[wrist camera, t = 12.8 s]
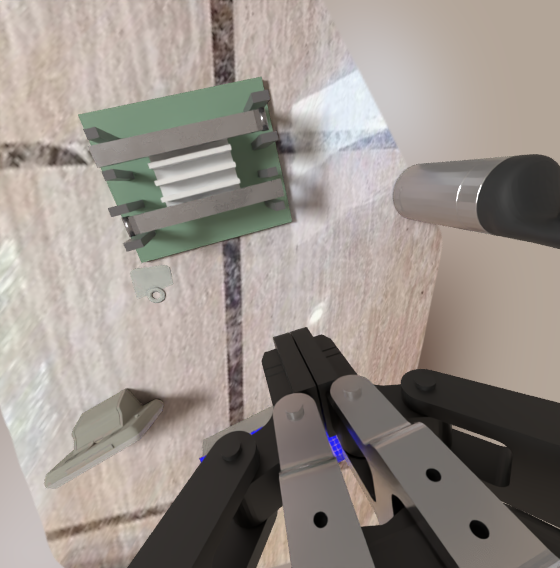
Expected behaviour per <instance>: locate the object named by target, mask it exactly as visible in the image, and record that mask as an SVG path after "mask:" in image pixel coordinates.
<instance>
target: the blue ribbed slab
mask: <svg viewBox="0 0 560 568" xmlns="http://www.w3.org/2000/svg"><path fill="white" fill-rule="evenodd" d="M272 413H273V406H271V407H269V408H267V409H265V410H263V411H261V412H259V413H257V414H255V415H253V416H251V417H249V418H247V419H245V420H243V421H241V422H239V423H237V424H235V425H233V426H231V427H229V428H227V429H225V430H223V431H221V432H219V433H217V434H215V435H213V436H211V437H209V438H206V439H204V440H203V456H202V457H201V458H199V459H200V462H202V461H203V459H204V458H205V456H206V455H207V453H208V452H209V451H210V449H211V448H212V446H213V445H214V444H215V442H216V441H217V440H218V439H220V438H221V437H222V436H224V435H225V434H227V433H230V432H233V431H245V432H248V433H250V434H251V435H252V434H254V433H255V432H257V431H258V430H260V429H261V428H262V427H263V426H265V425H266V424H267V422H268V421H269V420H270V418H271V416H272ZM326 434H327V432H326ZM327 438H328V441H329V444H330V447H331V450H332V453H333V455H334V456H335V457H336V459H337V461H338V463H339V462H341V461H343V460H344V459H345V458H344V456H343V453H342V449H341V444H340V442H339V440H338V438H337V436H336V435H335V436H333V437H330V438H329V436H328V434H327Z"/></svg>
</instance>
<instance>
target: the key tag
mask: <svg viewBox="0 0 560 568" xmlns="http://www.w3.org/2000/svg"><path fill="white" fill-rule="evenodd" d="M130 275H131V279H132V283H133V286H134V290H135V293H136V297H137V299H139V298H141V297H144V296H146V295H147V297H148V299H149V300H150V301H151V302H154V303H159V302H162V301H163V300H164V298H165V292H164V290H163V288H165V287H168V286H170V285H172V284H173V281H172V276H171V271H170V268H169V267H168V266H166V265H161V266H153V267H145V268H137V269H133V270H132V271H131V272H130ZM156 291H157V292H159V293H160V294H161V297H160V298H159V299H154V298H153V297H152V293H153V292H156Z"/></svg>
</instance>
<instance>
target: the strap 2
mask: <svg viewBox="0 0 560 568" xmlns="http://www.w3.org/2000/svg"><path fill="white" fill-rule="evenodd" d="M282 196H284V191H283V187H282V182H281V178H279V179H275V180H271V181H267V182H263V183H259V184H256V185H252V186H248V187H244V188H240V189H236V190H232V191H228V192H224V193H220V194H216V195H212V196H208V197H204V198H200V199H196V200H193V201H189V202H185V203H181V204H177V205H173V206H169V207H165V208H161V209H157V210H153V211H149V212H145V213H141V214H137V215H134V216H126V217H122V221H123V223H124V225H125V228H126V230H127V232H128V234H129V237H133V236H136V235H137V234H141V233H145V232H149V231H153V230H157V229H160V228H164V227H168V226H172V225H176V224H179V223H183V222H187V221H191V220H195V219H199V218H202V217H206V216H210V215H214V214H218V213H221V212H225V211H229V210H233V209H237V208H240V207H244V206H248V205H252V204H256V203H259V202H263V201H267V200H271V199H275V198H279V197H282Z"/></svg>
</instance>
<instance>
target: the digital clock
mask: <svg viewBox="0 0 560 568" xmlns="http://www.w3.org/2000/svg"><path fill="white" fill-rule="evenodd" d="M163 405H164V403H163V402H162V401H161V400H158V399H154V400H152V401H151V402H149V403H147V404H145V405H144V406H143V405H142V404H141V403H140V402H139V401H138V400H137V399H136V398H135V397H134V396H133V395H132V393H131V392H130V391H129V390H127V389H124V390H123V391H121V392H119V393H117V394H116V395H114V396H112V397H111V398H109V399H107V400H105V401H104V402H102V403H100V404H98V405H97V406H95V407H93V408H91V409H90V410H88V411H86V412H84V413H83V414H82V415H81V416H80V418H79V420H78V422H77V424H76V425H75V427H74V429H73V431H72V437H73V439H74V450H73V451H72V452H71V453H70V454H69V455H67V456H66V457H65V458H64V459H63V460H62V461H61V462H60V463H59V464H57V465H56V466H55V467H54V468H53V469H52V470H51V471H50V472H49V473H48V474H47V475H46V478H45V482H44V484H45V487H46V488H51V489H56V488H58V487H60V486H61V485H63V484H65V483H67V482H68V481H70V480H72V479H74V478H75V477H77V476H79V475H80V474H82V473H84V472H86V471H87V470H89V469H91V468H92V467H94V466H96V465H98V464H99V463H101V462H103V461H104V460H106V459H108V458H110V457H111V456H113V455H115V454H116V453H118V452H120V451H122V450H123V449H125V448H127V447H128V446H130V445H132V444H133V443H135V442H137V441H138V440H140V439H141V438H142V436H143V435H144V434H145V433H146V431H147V430H148V429H149V428H150V426H151V425H152V424H153V422H154V421H155V420H156V419H157V417H158V416H159V415H160V413H161V412H162V410H163Z"/></svg>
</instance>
